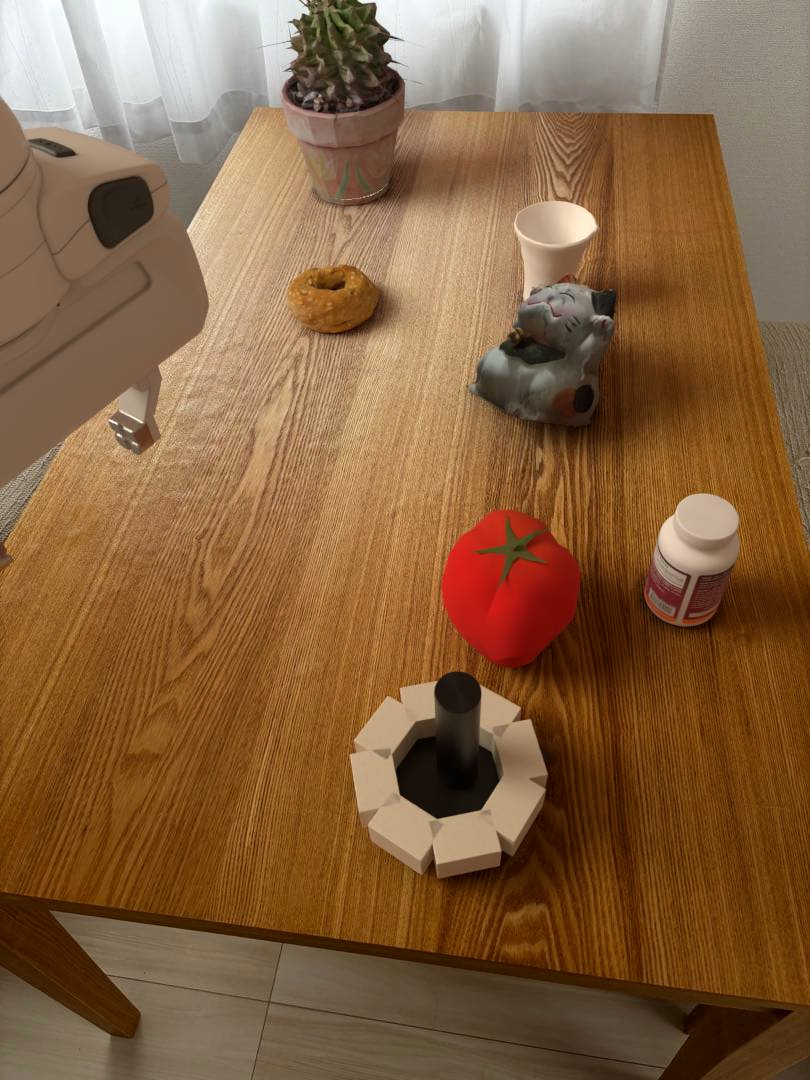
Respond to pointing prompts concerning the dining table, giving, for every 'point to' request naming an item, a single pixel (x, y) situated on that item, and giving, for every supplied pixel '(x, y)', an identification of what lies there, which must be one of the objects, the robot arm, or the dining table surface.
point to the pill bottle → (693, 560)
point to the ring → (457, 837)
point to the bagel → (332, 298)
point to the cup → (552, 241)
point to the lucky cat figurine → (551, 355)
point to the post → (451, 754)
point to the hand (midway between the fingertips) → (70, 501)
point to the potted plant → (344, 99)
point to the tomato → (510, 587)
